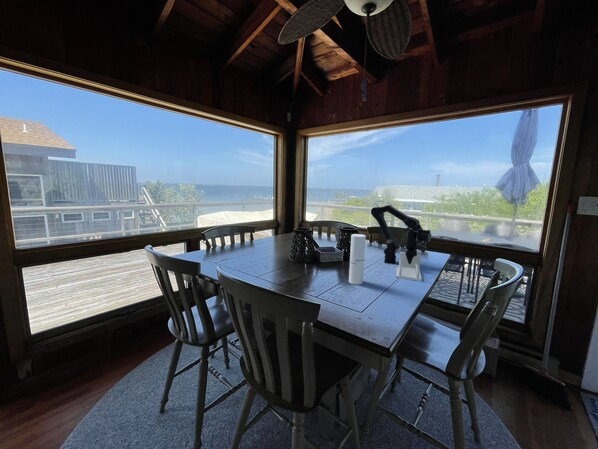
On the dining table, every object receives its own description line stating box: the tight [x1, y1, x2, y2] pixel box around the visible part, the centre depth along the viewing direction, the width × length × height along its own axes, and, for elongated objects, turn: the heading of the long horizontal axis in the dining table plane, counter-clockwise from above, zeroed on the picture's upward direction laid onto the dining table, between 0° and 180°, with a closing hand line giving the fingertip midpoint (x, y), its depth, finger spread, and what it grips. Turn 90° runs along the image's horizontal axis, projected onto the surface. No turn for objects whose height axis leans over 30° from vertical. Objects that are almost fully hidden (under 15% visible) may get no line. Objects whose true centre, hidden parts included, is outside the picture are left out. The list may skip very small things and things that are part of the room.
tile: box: [398, 251, 422, 269], centre depth 160 cm, size 12×2×9 cm, turn 68°
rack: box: [395, 259, 423, 282], centre depth 147 cm, size 13×18×6 cm
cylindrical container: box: [348, 233, 367, 285], centre depth 132 cm, size 7×7×25 cm
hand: (409, 263), depth 160 cm, fingers open, 5 cm apart
